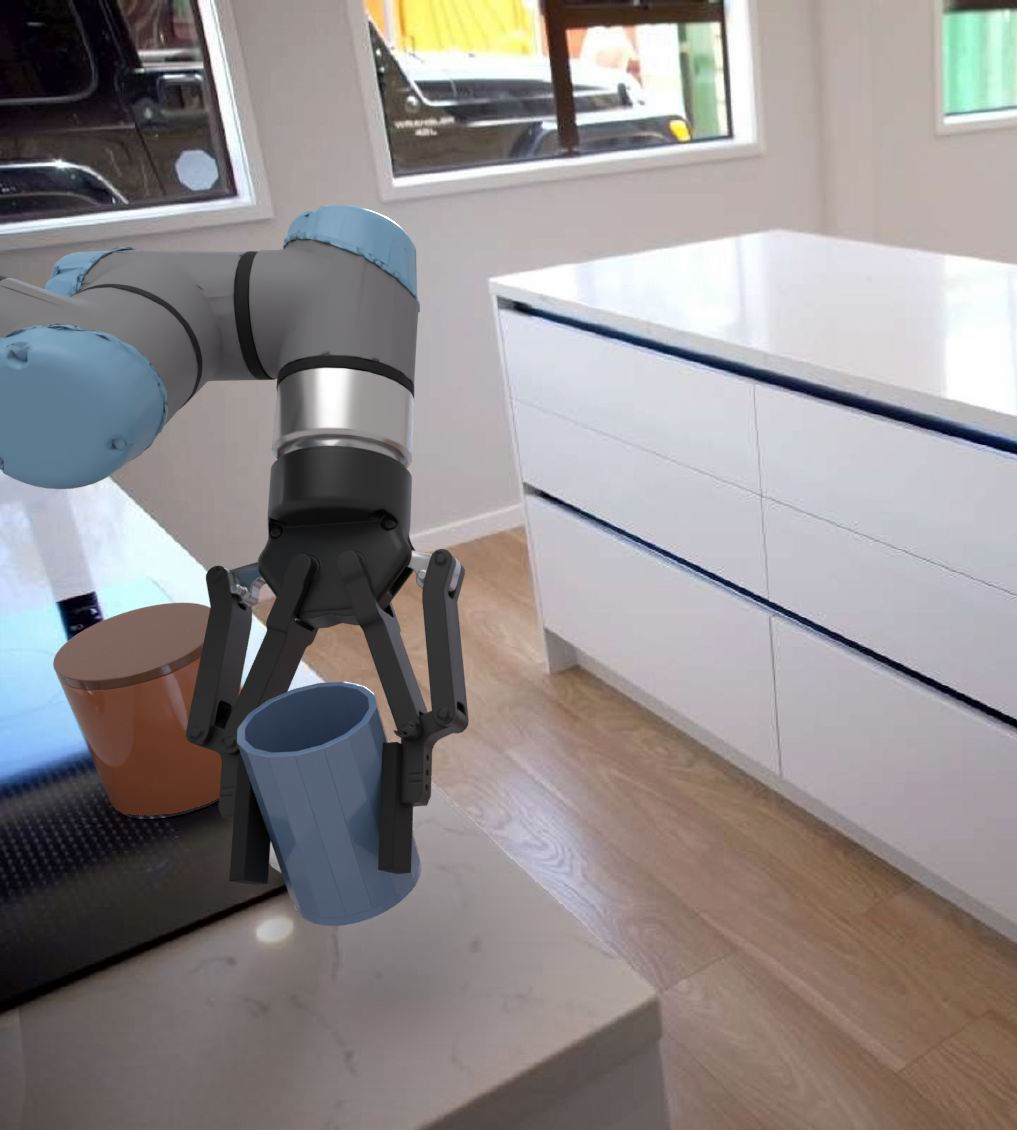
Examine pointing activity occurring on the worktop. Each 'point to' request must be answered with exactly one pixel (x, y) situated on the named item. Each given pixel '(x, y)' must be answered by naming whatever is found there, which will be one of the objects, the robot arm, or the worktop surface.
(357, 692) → the cup
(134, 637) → the canister
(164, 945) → the worktop surface
